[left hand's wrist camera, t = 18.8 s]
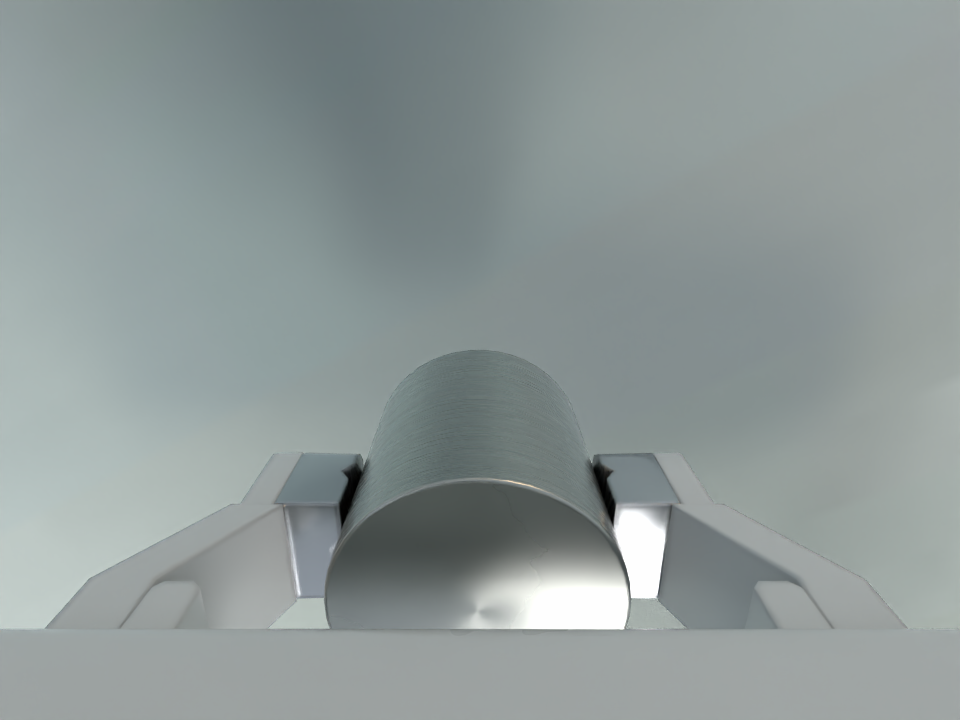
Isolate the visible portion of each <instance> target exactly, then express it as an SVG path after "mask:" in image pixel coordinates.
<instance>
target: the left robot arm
mask: <svg viewBox="0 0 960 720" xmlns="http://www.w3.org/2000/svg"><path fill="white" fill-rule="evenodd" d="M592 467H593V470H594V472H595V475H596V478H597V481H598V484H599V487H600V490H601V493H602V496H603V499H604V502H605V505H606V508H607V510H608V513H609V516H610V519H611V522H612V525H613V528H614V531H615V534H616V537H617V540H618V543H619V546H620V549H621V551H622V554H623V557H624V560H625V563H626V566H627V570H628V574H629V579H630V583H631V598H659V599H658V601H659V602H660V603H661V604H662V605H663V606H664V607H665V608H667V609H668V610H669V611H670V612H671V613H672V614H673V615H674V616H675V617H676V618H677V619H678V620H679V621H680V622H681V623H682V624H683V625H684V626H685V627H686V628H687V629H268V628H269V627H270V626H271V625H272V624H273V623H274V622H275V621H276V620H277V619H278V618H279V617H280V616H281V615H282V614H283V613H285V612H286V611H287V610H288V609H289V608H290V607H291V606H292V605H293V604H294V603H295V602H296V598H324V586H325V580H326V575H327V570H328V567H329V564H330V561H331V558H332V555H333V553H334V550H335V547H336V544H337V541H338V539H339V536H340V533H341V530H342V527H343V525H344V522H345V519H346V516H347V513H348V510H349V508H350V505H351V502H352V499H353V496H354V494H355V491H356V488H357V485H358V482H359V479H360V477H361V474H362V471H363V468H364V466H363V459H362V457H361V455H360V454H337V453H305V454H304V453H303V452H298V453H276V454H273V455H272V456H271V458H270V459H269V461H268V462H267V464H266V465H265V467H264V468H263V470H262V472H261V473H260V475H259V476H258V478H257V479H256V481H255V482H254V484H253V485H252V487H251V488H250V490H249V491H248V493H247V494H246V496H245V497H244V499H243V500H242V502H241V503H240V504H230V505H228V506H227V507H225V508H223V509H221V510H219V511H217V512H215V513H213V514H211V515H209V516H208V517H206V518H204V519H202V520H200V521H198V522H196V523H194V524H192V525H190V526H188V527H187V528H185V529H183V530H181V531H179V532H177V533H175V534H173V535H171V536H169V537H168V538H166V539H164V540H162V541H160V542H158V543H156V544H154V545H152V546H150V547H149V548H147V549H145V550H143V551H141V552H139V553H137V554H135V555H133V556H131V557H129V558H128V559H126V560H124V561H122V562H120V563H118V564H116V565H114V566H112V567H110V568H109V569H107V570H105V571H103V572H101V573H99V574H97V575H95V576H93V577H91V578H90V579H89V580H88V581H87V582H86V583H85V584H84V585H83V586H82V587H81V589H80V590H79V591H78V592H77V593H76V594H75V595H74V596H73V597H72V599H71V600H70V601H69V602H68V603H67V604H66V605H65V606H64V608H63V609H62V610H61V611H60V612H59V613H58V614H57V615H56V617H55V618H54V619H53V620H52V621H51V622H50V623H49V624H48V625H47V627H46V628H45V629H0V720H960V629H908V628H907V627H906V626H905V625H904V623H903V622H902V621H901V620H900V619H899V618H898V617H897V615H896V614H895V613H894V612H893V611H892V610H891V609H890V607H889V606H888V605H887V604H886V603H885V602H884V601H883V599H882V598H881V597H880V596H879V595H878V594H877V592H876V591H875V590H874V589H873V588H872V587H871V586H870V584H869V583H868V582H867V581H866V580H865V579H863V578H861V577H860V576H858V575H856V574H854V573H852V572H850V571H848V570H846V569H845V568H843V567H841V566H839V565H837V564H835V563H833V562H831V561H830V560H828V559H826V558H824V557H822V556H820V555H818V554H816V553H814V552H813V551H811V550H809V549H807V548H805V547H803V546H801V545H799V544H798V543H796V542H794V541H792V540H790V539H788V538H786V537H784V536H783V535H781V534H779V533H777V532H775V531H773V530H771V529H769V528H768V527H766V526H764V525H762V524H760V523H758V522H756V521H754V520H752V519H751V518H749V517H747V516H745V515H743V514H741V513H739V512H737V511H736V510H734V509H732V508H730V507H728V506H726V505H724V504H714V502H713V501H712V499H711V498H710V496H709V495H708V493H707V492H706V490H705V488H704V487H703V485H702V484H701V482H700V481H699V479H698V478H697V476H696V475H695V473H694V472H693V470H692V469H691V467H690V466H689V464H688V463H687V461H686V460H685V458H684V457H683V455H682V454H680V453H678V452H671V453H635V454H597V455H594V458H593V462H592Z"/></svg>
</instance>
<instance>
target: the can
mask: <svg viewBox="0 0 960 720" xmlns="http://www.w3.org/2000/svg"><path fill="white" fill-rule="evenodd" d="M324 604H325V611H326V618H327V621H328V624H329V628H330V629H626V626H627V622H628V619H629V615H630V607H631V583H630V579H629V574H628V570H627V566H626V563H625V560H624V557H623V554H622V551H621V549H620V546H619V543H618V540H617V537H616V534H615V531H614V528H613V525H612V522H611V519H610V516H609V513H608V510H607V508H606V505H605V502H604V499H603V496H602V493H601V490H600V487H599V484H598V481H597V478H596V475H595V472H594V470H593V467H592V464H591V461H590V458H589V455H588V452H587V449H586V446H585V443H584V440H583V437H582V434H581V431H580V429H579V426H578V423H577V420H576V417H575V414H574V411H573V409H572V406H571V404H570V402H569V400H568V399H567V397H566V395H565V393H564V392H563V391H562V389H561V388H560V387H559V386H558V384H557V383H556V382H555V381H554V380H553V379H552V378H551V377H550V376H549V375H548V374H546V373H545V372H544V371H542V370H541V369H540V368H538V367H537V366H535V365H533V364H531V363H529V362H528V361H526V360H524V359H521V358H518V357H516V356H513V355H510V354H506V353H502V352H497V351H488V350H468V351H461V352H455V353H451V354H447V355H444V356H441V357H439V358H436V359H434V360H431V361H429V362H428V363H426V364H424V365H422V366H420V367H419V368H417V369H416V370H415V371H413V372H412V373H411V374H409V375H408V376H407V377H406V378H405V379H404V380H403V381H402V382H401V383H400V384H399V386H398V387H397V388H396V390H395V391H394V392H393V394H392V395H391V397H390V399H389V401H388V402H387V404H386V407H385V409H384V412H383V415H382V417H381V420H380V423H379V426H378V429H377V432H376V434H375V437H374V440H373V443H372V446H371V448H370V451H369V454H368V457H367V460H366V463H365V465H364V468H363V471H362V474H361V477H360V479H359V482H358V485H357V488H356V491H355V494H354V496H353V499H352V502H351V505H350V508H349V510H348V513H347V516H346V519H345V522H344V525H343V527H342V530H341V533H340V536H339V539H338V541H337V544H336V547H335V550H334V553H333V555H332V558H331V561H330V564H329V567H328V570H327V575H326V580H325V586H324Z"/></svg>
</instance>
